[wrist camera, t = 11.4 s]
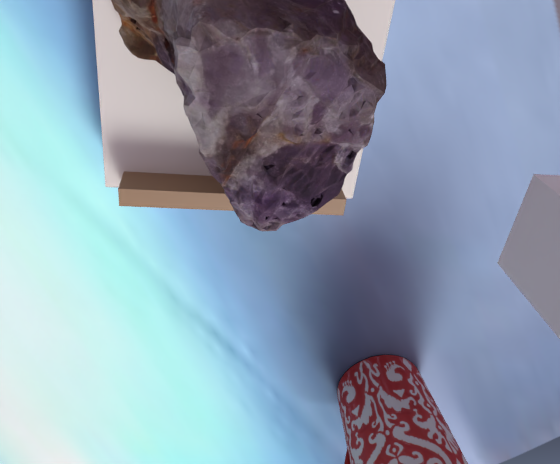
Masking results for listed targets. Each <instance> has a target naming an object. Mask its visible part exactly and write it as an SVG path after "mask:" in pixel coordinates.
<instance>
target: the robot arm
mask: <svg viewBox="0 0 560 464" xmlns="http://www.w3.org/2000/svg"><path fill="white" fill-rule="evenodd" d="M498 264H499V266H500V267H501V268H502V269H503V271H504V272H505V273H506V274H507V275H508V277H509V278H510V279H511V280H512V282H513V283H514V284H515V285H516V286H517V288H518V289H519V290H520V291H521V293H522V294H523V295H524V296H525V297H526V299H527V300H528V301H529V302H530V303H531V305H532V306H533V307H534V308H535V310H536V311H537V312H538V313H539V314H540V316H541V317H542V318H543V319H544V321H545V322H546V323H547V324H548V325H549V327H550V328H551V329H552V330H553V332H554V333H555V334H556V335H557V336H558V338H559V339H560V176H558V175H539V174H534V175H533V177H532V180H531V182H530V184H529V187H528V189H527V192H526V194H525V197H524V199H523V202H522V204H521V207H520V209H519V211H518V214H517V216H516V219H515V221H514V224H513V226H512V229H511V231H510V234H509V236H508V238H507V241H506V243H505V246H504V248H503V251H502V253H501V256H500V258H499V261H498Z"/></svg>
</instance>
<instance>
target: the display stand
mask: <svg viewBox="0 0 560 464" xmlns="http://www.w3.org/2000/svg"><path fill="white" fill-rule="evenodd" d="M345 1H346V3H347V5H348V7H349V8H350V10H351V12H352V14H353V15H354V18H355V21H356V24H357V26H358V27H359V28H360V30H361V31H362V32H363V33H364V34H365V36H366V37H367V38H368V39H369V40H370V42H371V43H372V46H373V51H374V53H375V54H376V56H377V57H378V59H379V60H380V61H382V59H383V54H384V50H385V45H386V40H387V36H388V31H389V27H390V22H391V17H392V13H393V8H394V3H395V0H345ZM92 2H93V16H94V30H95V44H96V58H97V72H98V86H99V100H100V114H101V128H102V142H103V156H104V170H105V184H106V187H119V188H118V192H119V206H135V207H159V208H183V209H206V210H230V211H234V209H233V207H232V205H231V204H230V200H229V199H228V198H227V196H226V195H225V193H224V189H223V187H222V186H221V184H220V183H219V182H218V181H217V180H216V179H215V178H214V177H213V176H212V175H211V174H210V173H209V170H208V168H207V166H206V164H205V162H204V160H203V159H202V157H201V155H200V154H199V146H198V142H197V139H196V135H195V133H194V131H193V129H192V127H191V125H190V122H189V119H188V117H187V116H186V114H185V111H184V107H183V104H184V96H183V95H182V92H181V90H180V88H179V86H178V85H177V82H176V77H175V74H173V73H172V72H170V71H169V70H167V69H166V68H165V67H163V66H162V65H161V64H159V63H158V62H157V61H155V60H145V59H140V58H137V57H136V56H134V55H133V54H132V53H131V52H130V51H129V50H128V49H127V47H126V46H125V45H124V42H123V39H122V37H121V35H120V34H119V29H120V27H121V25H122V23H121V18H120V16H119V14H118V12H117V11H116V10H115V9H114V7H113V4H112V2H111V0H92ZM362 152H363V148H362V149H361V150H360V151H359V152H358V153H357V155H356V158H355V160H354V163H353V169H352V171H350V172H349V173H348V174H347V175H346V177H345V179H344V184H343V187H342V189H341V191H340V193H339V195H338V196H336V197H335V198H333V199H332V200H330V201H329V202H328V203H326V204H325V205H324V206H322V207H321V208H320V209H319V210H317V211H315V212H314V213H312V214H324V215H343V214H344V209H345V205H346V200H347V199H346V198H350V199H352V198H353V193H354V189H355V184H356V179H357V175H358V170H359V166H360V161H361V156H362Z"/></svg>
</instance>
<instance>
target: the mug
mask: <svg viewBox="0 0 560 464" xmlns="http://www.w3.org/2000/svg"><path fill="white" fill-rule="evenodd" d="M337 396H338V402H339V407H340V413H341V417H342V422H343V428H344V432H345V438H346V444H347V453H346V458H345V464H468V463H467V461H466V459H465V457H464V456H463V454H462V452H461V450H460V448H459V446H458V444H457V442H456V440H455V439H454V437H453V435H452V433H451V431H450V429H449V427H448V425H447V423H446V422H445V420H444V418H443V416H442V414H441V412H440V410H439V408H438V407H437V405H436V403H435V401H434V399H433V397H432V396H431V394H430V392H429V390H428V388H427V386H426V384H425V382H424V380H423V378H422V376H421V375H420V373H419V371H418V369H417V368H416V366H415V365H414V364H413V363H412V362H410V361H409V360H407V359H405V358H403V357H400V356H396V355H379V356H374V357H370V358H368V359H365V360H362V361H360V362H358V363H357V364H355V365H354V366H352V367H351V368H350V369H349V370H348V371H347V372H345V374H344V375H343V376H342V378H341V380H340V382H339V384H338V389H337Z"/></svg>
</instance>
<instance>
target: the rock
mask: <svg viewBox="0 0 560 464" xmlns="http://www.w3.org/2000/svg"><path fill="white" fill-rule="evenodd" d="M111 2H112V4H113V7H114V9H115V10H116V11H117V12H118V14H119V16H120V18H121V23H122V25H121V27H120V29H119V34H120V35H121V37H122V39H123V42H124V45H125V46H126V47H127V49H128V50H129V51H130V52H131V53H132V54H133V55H134V56H136V57H137V58H140V59H145V60H155V61H157V62H158V63H159V64H161V65H162V66H163V67H165V68H166V69H167V70H169V71H170V72H172V73H173V74H175V77H176V82H177V85H178V86H179V88H180V90H181V92H182V95H183V96H184V104H183V107H184V111H185V114H186V116H187V117H188V119H189V122H190V125H191V127H192V129H193V131H194V133H195V135H196V139H197V142H198V146H199V154H200V155H201V157H202V159H203V160H204V162H205V164H206V166H207V168H208V170H209V173H210V174H211V175H212V176H213V177H214V178H215V179H216V180H217V181H218V182H219V183H220V184H221V186H222V187H223V189H224V193H225V195H226V196H227V198H228V199H229V200H230V204H231V205H232V207H233V209H234V211H235V213H236V214H237V216H238V217H239V219H240V221H241V222H242V223H244V224H246V225H248V226H251V227H253V228H256V229H258V230H260V231H276V230H277V229H278V228H280V227H281V226H282V225H283V224H287V223H290V222H293V221H296V220H299V219H301V218H304V217H306V216H308V215H310V214H312V213H314V212H315V211H317V210H319V209H320V208H321V207H322V206H324V205H325V204H326V203H328V202H329V201H330V200H332V199H333V198H335V197H336V196H338V195H339V193H340V191H341V189H342V187H343V184H344V179H345V177H346V175H347V174H348V173H349V172H350V171H352V169H353V163H354V160H355V158H356V155H357V153H358V152H359V151H360V150H361V149H362V148H364V147H366V146H367V145H368V143H369V140H370V137H371V134H372V129H373V124H374V112H375V108H376V105H377V102H378V101H379V100H380V98H381V97H382V96H383V95H384V93H385V89H386V73H385V64H384V63H383V62H382V61H380V60H379V59H378V57H377V56H376V54H375V53H374V51H373V46H372V43H371V42H370V40H369V39H368V38H367V37H366V36H365V34H364V33H363V32H362V31H361V30H360V28H359V27H358V26H357V24H356V21H355V18H354V15H353V14H352V12H351V10H350V8H349V7H348V5H347V3H346V1H345V0H111Z"/></svg>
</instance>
